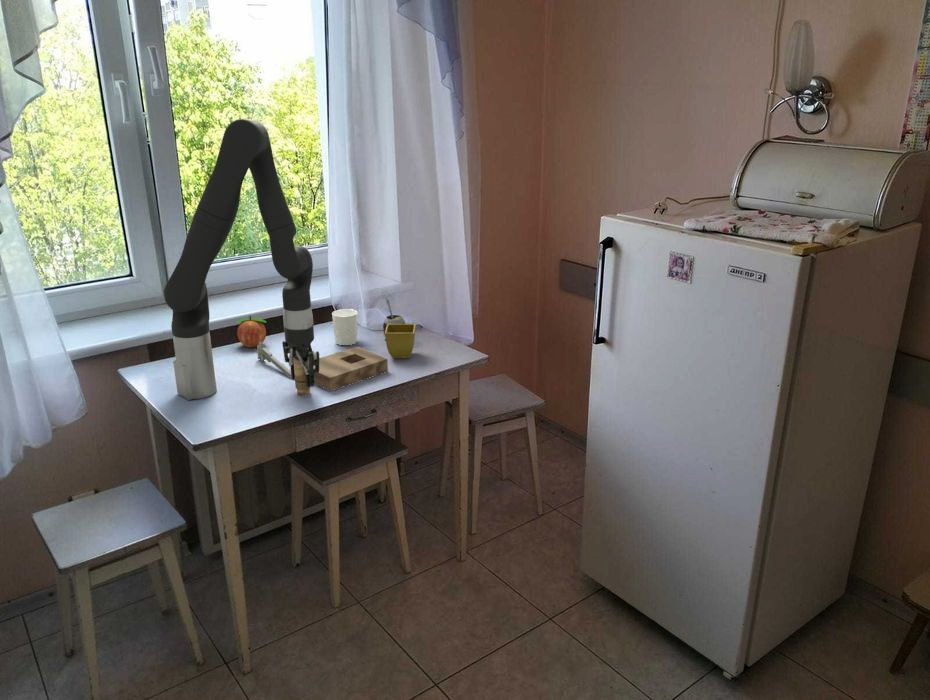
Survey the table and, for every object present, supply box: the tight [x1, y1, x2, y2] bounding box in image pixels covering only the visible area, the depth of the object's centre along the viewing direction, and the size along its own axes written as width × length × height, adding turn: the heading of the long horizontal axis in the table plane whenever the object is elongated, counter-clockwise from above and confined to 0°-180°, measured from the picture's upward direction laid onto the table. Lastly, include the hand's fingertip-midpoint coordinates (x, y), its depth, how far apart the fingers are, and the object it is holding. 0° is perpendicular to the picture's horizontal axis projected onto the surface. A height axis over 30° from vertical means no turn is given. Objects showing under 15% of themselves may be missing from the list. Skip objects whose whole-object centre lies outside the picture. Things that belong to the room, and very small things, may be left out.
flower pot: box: [384, 323, 416, 359], centre depth 228 cm, size 9×9×9 cm
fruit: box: [234, 315, 267, 348], centre depth 235 cm, size 9×10×10 cm
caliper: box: [256, 342, 291, 378], centre depth 218 cm, size 20×1×6 cm, turn 43°
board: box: [314, 346, 389, 392], centre depth 215 cm, size 20×14×4 cm
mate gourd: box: [381, 292, 406, 342], centre depth 240 cm, size 8×8×15 cm
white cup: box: [331, 308, 358, 346], centre depth 239 cm, size 8×8×10 cm
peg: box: [293, 358, 311, 397], centre depth 202 cm, size 4×4×10 cm
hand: (303, 382), depth 202 cm, fingers open, 6 cm apart
